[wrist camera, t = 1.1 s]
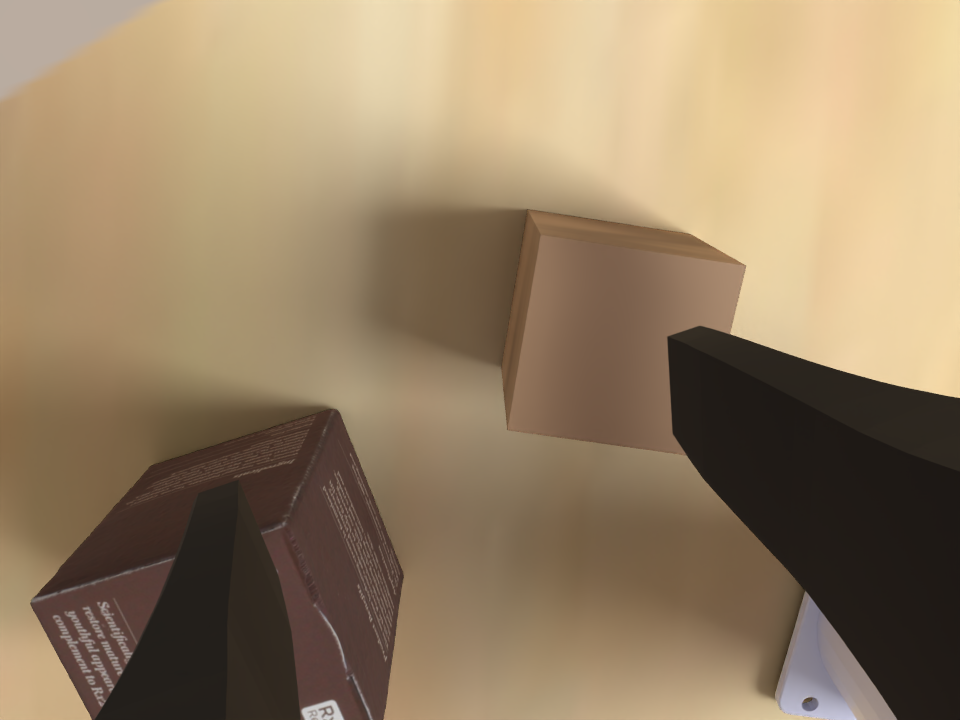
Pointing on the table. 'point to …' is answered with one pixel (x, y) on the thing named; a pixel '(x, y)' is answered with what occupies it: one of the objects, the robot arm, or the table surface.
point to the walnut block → (606, 327)
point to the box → (291, 544)
